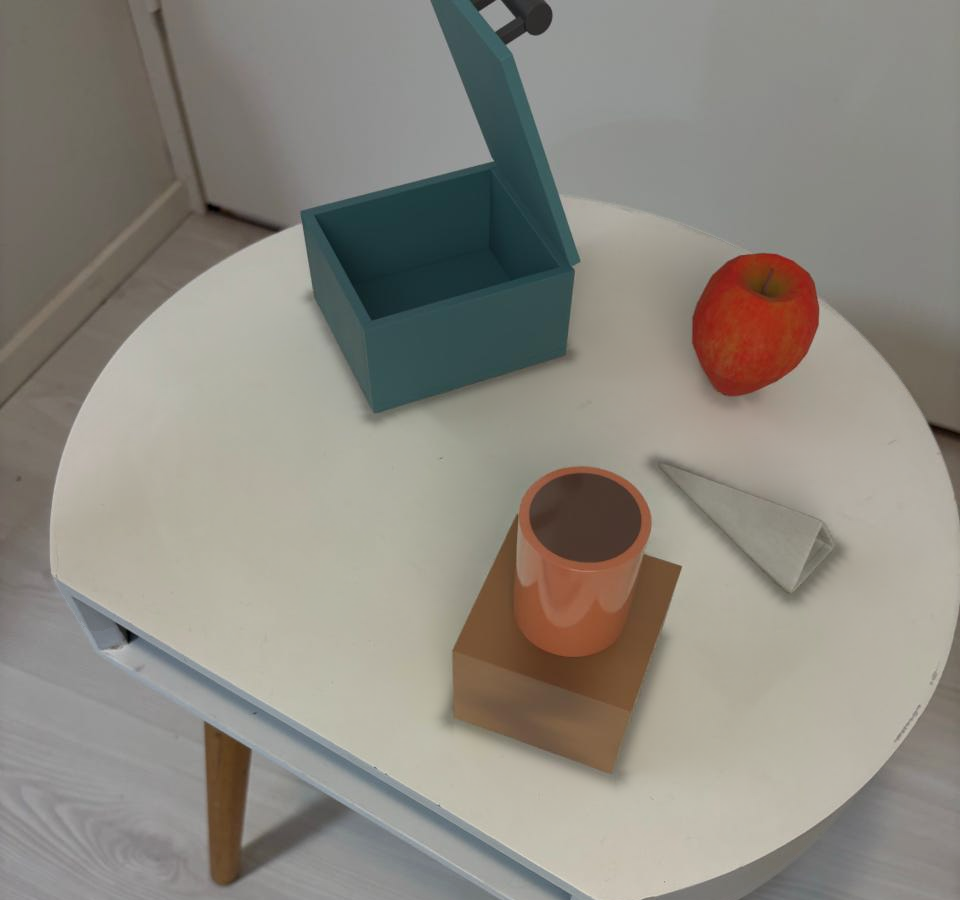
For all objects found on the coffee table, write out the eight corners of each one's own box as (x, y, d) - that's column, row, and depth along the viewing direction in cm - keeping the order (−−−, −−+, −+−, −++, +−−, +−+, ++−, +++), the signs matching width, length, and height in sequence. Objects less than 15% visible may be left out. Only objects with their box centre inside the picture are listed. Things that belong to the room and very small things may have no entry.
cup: (495, 634, 54) (499, 546, 47) (535, 545, 57) (544, 450, 50) (608, 673, 53) (629, 588, 46) (642, 580, 56) (667, 487, 49)
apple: (733, 450, 71) (773, 333, 62) (651, 382, 75) (677, 261, 66) (813, 396, 74) (863, 276, 65) (730, 333, 78) (766, 210, 68)
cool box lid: (499, 61, 55) (576, 11, 54) (408, -54, 61) (476, -100, 61) (571, 268, 69) (631, 230, 69) (491, 157, 76) (546, 122, 75)
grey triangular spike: (614, 510, 68) (788, 586, 62) (647, 448, 68) (824, 519, 62) (641, 532, 73) (804, 605, 67) (671, 475, 73) (837, 543, 67)
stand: (453, 717, 60) (451, 650, 53) (511, 589, 65) (516, 513, 58) (611, 774, 58) (630, 712, 52) (659, 638, 63) (682, 565, 56)
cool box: (373, 414, 73) (364, 331, 66) (313, 297, 79) (299, 210, 73) (565, 355, 76) (575, 270, 70) (493, 247, 83) (495, 160, 76)
